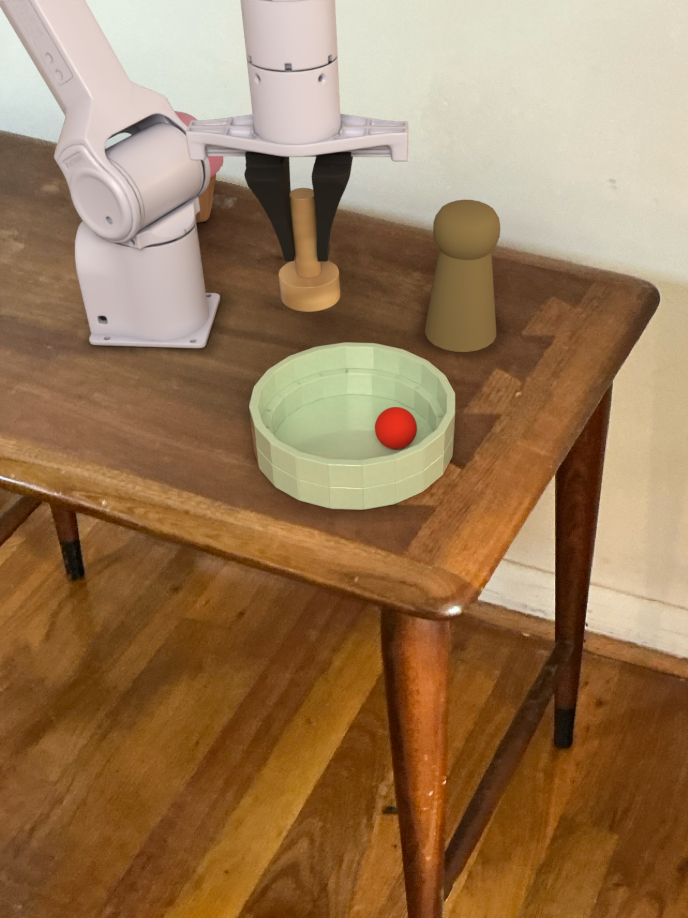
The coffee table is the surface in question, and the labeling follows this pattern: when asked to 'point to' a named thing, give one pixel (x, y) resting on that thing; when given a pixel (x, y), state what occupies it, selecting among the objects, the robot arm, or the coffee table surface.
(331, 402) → the bowl
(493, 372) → the coffee table surface
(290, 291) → the wooden peg on base
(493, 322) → the cork
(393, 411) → the red ball
